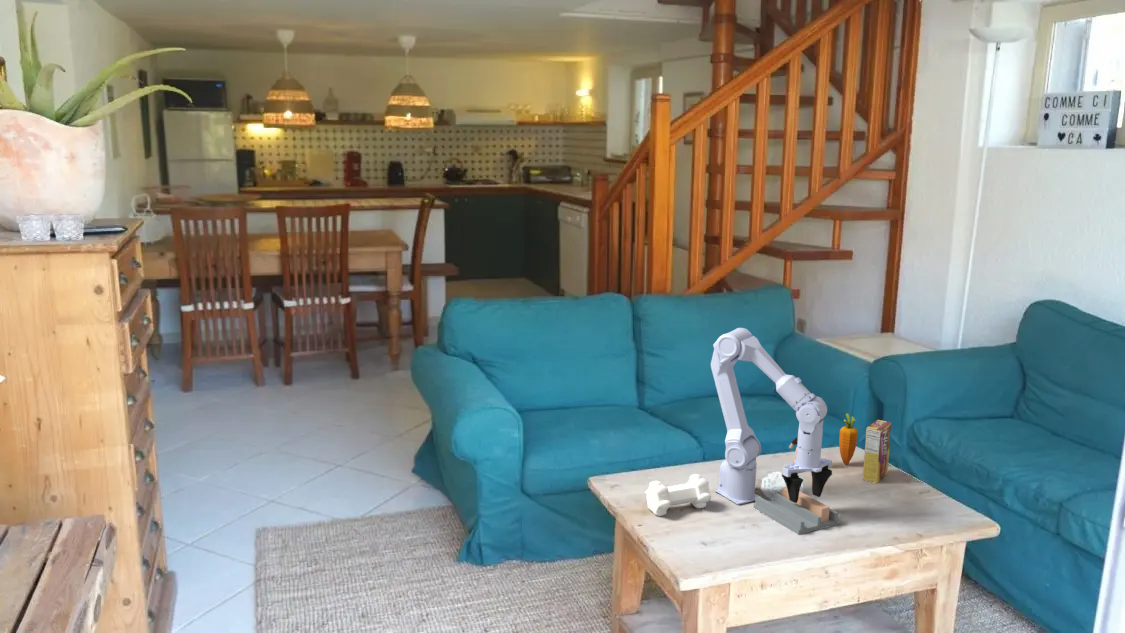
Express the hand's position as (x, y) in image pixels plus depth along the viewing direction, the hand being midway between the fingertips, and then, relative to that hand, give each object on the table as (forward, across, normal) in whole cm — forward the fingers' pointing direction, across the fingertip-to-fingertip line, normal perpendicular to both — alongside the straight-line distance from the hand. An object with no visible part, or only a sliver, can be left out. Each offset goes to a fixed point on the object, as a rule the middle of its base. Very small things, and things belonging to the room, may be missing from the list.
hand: (804, 498), depth 212 cm
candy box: (+4, +35, +9) cm, 36 cm away
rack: (+4, -3, 0) cm, 5 cm away
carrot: (+4, +34, +19) cm, 39 cm away
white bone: (+4, -27, +16) cm, 32 cm away
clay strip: (+3, 0, 0) cm, 3 cm away
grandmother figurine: (+4, +21, +23) cm, 32 cm away
